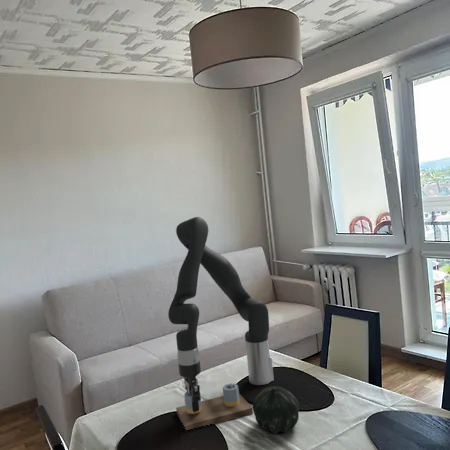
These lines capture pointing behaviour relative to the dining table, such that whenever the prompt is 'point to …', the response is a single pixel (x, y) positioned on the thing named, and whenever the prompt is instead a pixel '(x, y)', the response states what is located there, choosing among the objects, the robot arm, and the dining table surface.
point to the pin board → (213, 412)
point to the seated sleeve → (231, 395)
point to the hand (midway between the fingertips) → (193, 407)
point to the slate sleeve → (189, 403)
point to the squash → (276, 409)
